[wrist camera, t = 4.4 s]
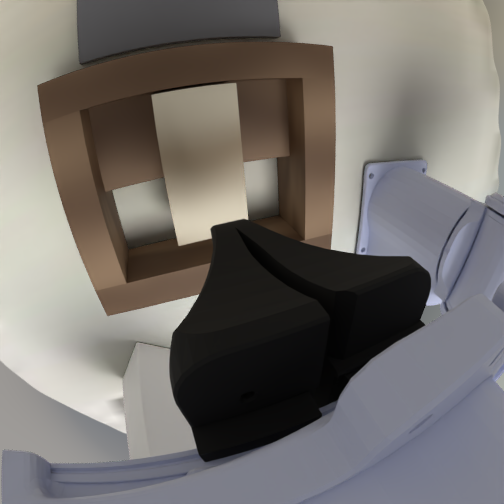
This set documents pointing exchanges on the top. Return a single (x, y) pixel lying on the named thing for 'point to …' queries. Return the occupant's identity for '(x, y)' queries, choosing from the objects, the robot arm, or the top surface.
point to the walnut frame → (149, 160)
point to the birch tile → (201, 158)
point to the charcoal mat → (168, 23)
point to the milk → (153, 406)
